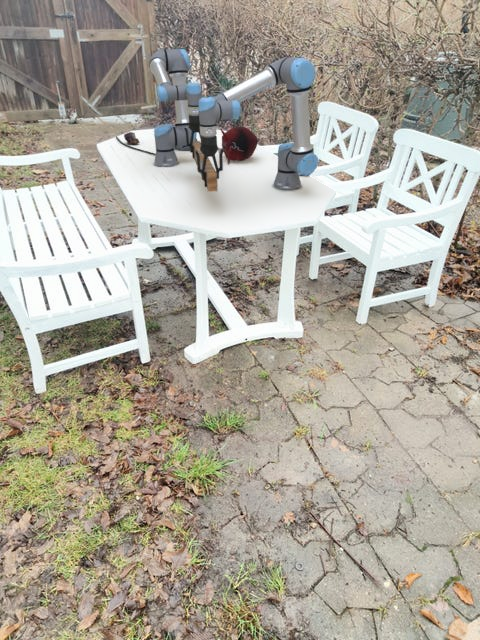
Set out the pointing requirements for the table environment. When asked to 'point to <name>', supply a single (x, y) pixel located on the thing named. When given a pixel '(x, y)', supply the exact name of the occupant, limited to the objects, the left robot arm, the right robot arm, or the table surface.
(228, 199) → the table surface
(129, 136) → the rock
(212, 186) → the post
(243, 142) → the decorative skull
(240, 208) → the table surface
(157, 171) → the table surface
